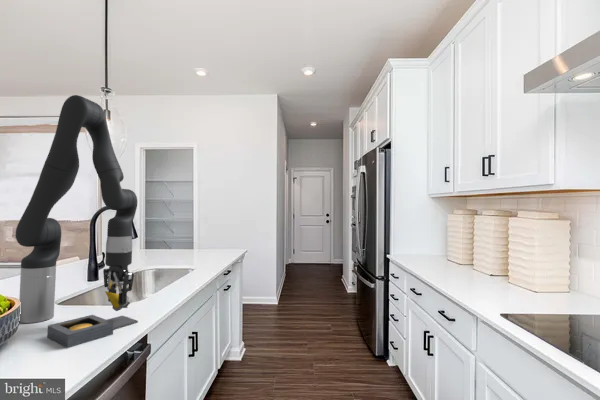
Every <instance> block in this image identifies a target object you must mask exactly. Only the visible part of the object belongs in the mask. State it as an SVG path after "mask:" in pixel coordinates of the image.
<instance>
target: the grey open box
mask: <svg viewBox="0 0 600 400" xmlns="http://www.w3.org/2000/svg"><path fill="white" fill-rule="evenodd" d="M78 324H92V326H89V327H85V328H82V329H78V330H74V331H72V330H69V328H70V327H72V326H74V325H78ZM46 334H47V335H46V338H47V339H49V340H50V341H52V342H55V343H56V344H58V345H59V346H62V347H64V348H66V349H69V348H73V347H76V346H79V345H82V344H86V343H88V342H89V343H90V342H92V341H95V340H99V339H102V338H105V337H108V336H112V335H114V330H113V322H111V321H108V320H107V319H106V318H102V317H100V316H97V315H95V314H90V315H85V316H82V317H77V318H73V319H70V320H69V319H68V320H65V321H61V322H56V323H53V324H49V325H47V333H46Z"/></svg>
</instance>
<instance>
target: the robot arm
mask: <svg viewBox="0 0 600 400" xmlns="http://www.w3.org/2000/svg"><path fill="white" fill-rule="evenodd" d="M82 128H85V129H86V131H87V133H88V135H89V136H90V138H91V142H92V154H91V155H92V164H93V166H94V169H95V172H96V174H97V176H98V179H99V181H100V184H99V185H100V191H101V192H100V193H101V198H102V201H103V203H104V205H105V206H106V207H107V208H108V209H110V210H113V211H115V215H114V216H113V217H112V218H110V219H108V221H107V232H106V233H107V235H106V236H107V237H106V241H105V259H104V260H105V262H104V263H105V266H107V267H108V268H104V269H103V270H102V272H103V284H104V288H106V289H107V290H108V292H111V293H115V294H117V288H118V294H119V301H118V304H119V305H124V304H126V301H127V296H128V295H127V294H128V293H129V292H131V291H132V290H133V284H134V277H135V273H134V272H130V271H129V268H128V267H129V265H131V264H132V263H133V261H132V260H133V237H132V236H133V221H134V219H135V214H136V212H137V208H138V197H137V193H136V192H134V190H132V189H128V188H122V185H121V182H123V180H124V172H123V169H122V168H121V165H120V163H119V160H118V158H117V156H116V154H115V151H114V148H113V144H112V140H111V134H110V131H109V125H108V122H107V117H106V114H105V112H104V109H103V107H102V106H101V105H100V104H98V102H95V101H93V100H91V99H88V98H86V97H84V96H82V95H77V94H74V95H70V96H69V97H68V98H66V99H65V101H64V103H63V104H62V107H61V109H60V114H59V117H58V121H57V126H56V131H55V133H54V136H53V140H52V142H51V145H50V148H49V152H48V155H47V156H46V159H45V161H44V164H43V167H42V168H41V172H40V174H39V178H38V180H37V183H36V186H35V188H34V190H33V193H32V196H31V197H30V200H29V202H28V204H27V206H26V208H25V209H24V212H23V214H22V216H21V217H20V219H19V222H18V224H17V226H16V228H15V229H16V230H15V239H16V241H17V243H18V245H20V246H22V247H25V248H27V247H28V248H31V247H33V248H32V251H31V252H30V253H29V254H27V255H26V256H24V257H23V258H22V259H21V260H20V281H19V282H20V283H19V300H20V302H21V314H20V322H19V323H22V324H31V323H32V324H33V323H40V322H44V321H47V320H50V319H53V318H54V315H55V301H56V297H55V296H56V280H57V279H56V277H57V276H56V274H57V273H56V271H57V261H58V259H59V256H60V251H61V242H62V227H61V225H60V223H59V221H58V220H57V219H55V218H53V217H49V215H50V212H51V211H52V209H53V207H54V206H55V205H56V204H57V203H58V202H59V201H60V200H61V199H62V198H63V197H64V196H65V195H66V194H67V193H68V192H69V191H70V189H72V187H73V185H74V183H75V181H76V178H77V176H78V172H79V170H80V158H79V151H78V139H79V135H80V132H81V130H82ZM107 290H106V291H107ZM19 300H18V301H19ZM107 301H108V302H110V300H109V298H108V297H107ZM110 303H111V302H110Z"/></svg>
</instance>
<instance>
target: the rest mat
mask: <svg viewBox="0 0 600 400" xmlns="http://www.w3.org/2000/svg"><path fill="white" fill-rule="evenodd" d="M106 320H108V321H111V322H113V331H114V330H117V329H120V328H124V327H127V326H131V325H134V324H137V323H139V320H136V319H134V318H131V317H128V316H125V315H120V316H115V317H112V318H107V319H106Z"/></svg>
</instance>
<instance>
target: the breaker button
mask: <svg viewBox="0 0 600 400" xmlns="http://www.w3.org/2000/svg"><path fill="white" fill-rule="evenodd" d="M89 326H92V324H78V325H74V326H72V327H70V328H69V330H72V331H74V330H78V329H82V328H85V327H89Z"/></svg>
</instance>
